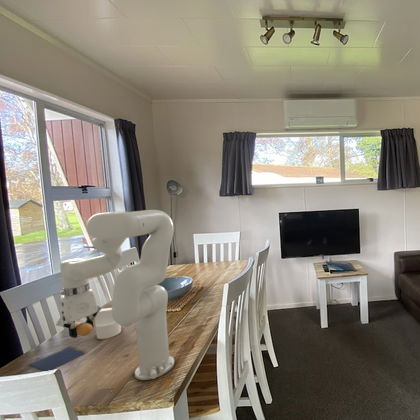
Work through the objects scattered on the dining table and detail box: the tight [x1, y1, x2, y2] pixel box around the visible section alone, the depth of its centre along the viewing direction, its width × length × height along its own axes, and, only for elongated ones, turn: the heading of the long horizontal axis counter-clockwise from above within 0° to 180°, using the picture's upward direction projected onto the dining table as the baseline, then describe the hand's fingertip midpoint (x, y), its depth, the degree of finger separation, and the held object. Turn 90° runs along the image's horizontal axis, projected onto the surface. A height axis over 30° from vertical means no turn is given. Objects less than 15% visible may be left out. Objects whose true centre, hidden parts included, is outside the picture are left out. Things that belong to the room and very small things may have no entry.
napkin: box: [30, 347, 85, 372], centre depth 108 cm, size 12×12×1 cm
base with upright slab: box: [94, 307, 122, 340], centre depth 126 cm, size 9×9×12 cm
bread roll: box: [74, 320, 94, 337], centre depth 108 cm, size 9×5×5 cm, turn 68°
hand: (82, 333), depth 108 cm, fingers closed on bread roll, 4 cm apart
